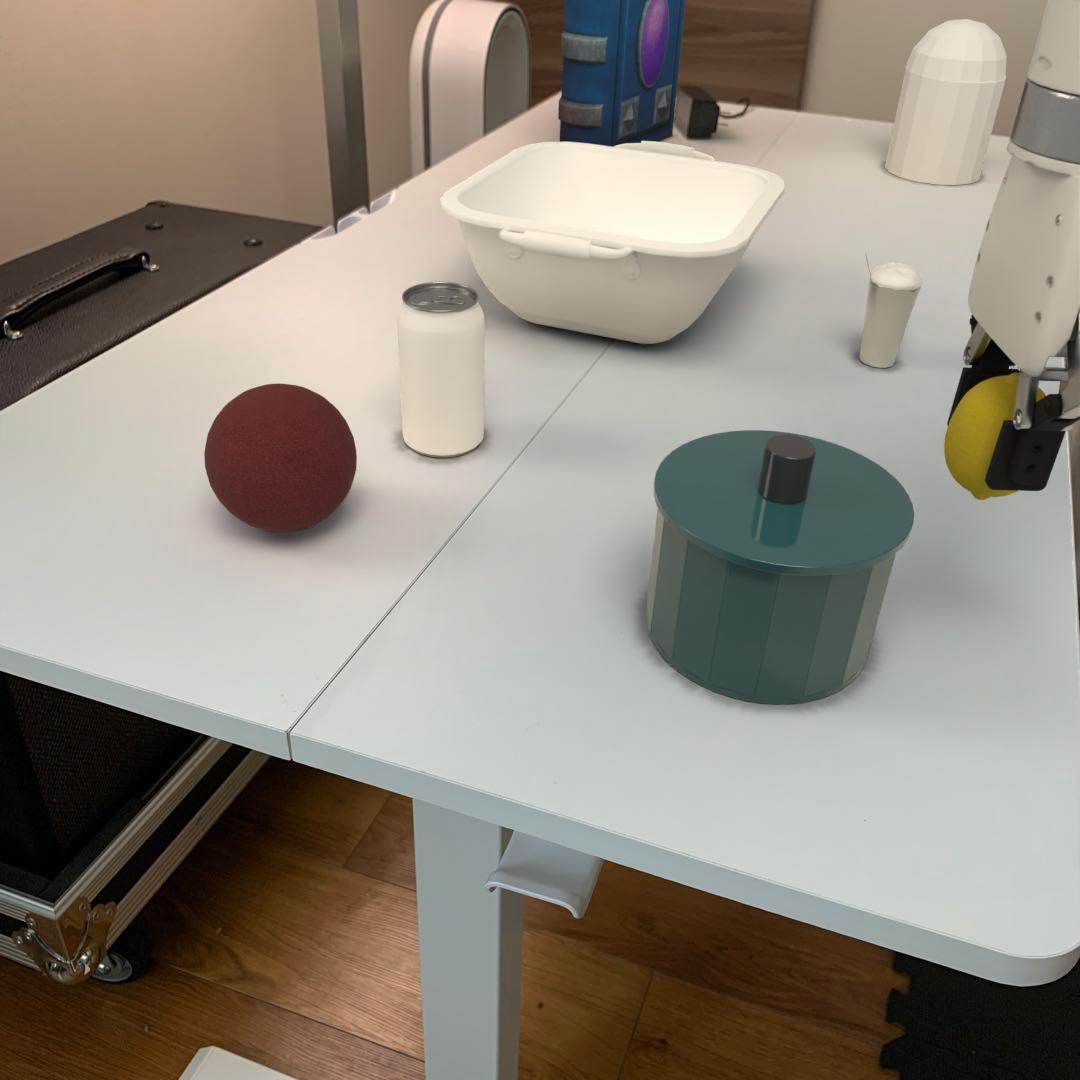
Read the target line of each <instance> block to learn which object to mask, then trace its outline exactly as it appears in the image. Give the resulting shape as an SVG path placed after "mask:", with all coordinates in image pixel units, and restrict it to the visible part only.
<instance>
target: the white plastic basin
mask: <svg viewBox="0 0 1080 1080" xmlns="http://www.w3.org/2000/svg"><path fill="white" fill-rule="evenodd" d="M785 192H786V181H785V180H784V179H783V178H782V177H780V176H779V175H778V174H776V173H773V172H771V171H768V170H766V169H762V168H760V167H755V166H751V165H746V164H740V163H734V162H726V161H719V160H716V158H714V157H713V156H712V155H710V154H707V153H705V152H701V151H698V150H696V148H695V147H692V146H687V145H683V144H677V143H672V142H664V141H659V142H656V141H641V143H626V144H620V145H616V146H614V147H610V146H603V145H596V144H589V143H578V142H559V141H543V142H536V143H530V144H529V143H528V144H526V145H521V146H519V147H517V148H515V149H513V150H511V151H510V152H508V153H506V154H505V155H503V156H502V157H499V158H498V159H497V160H495V161H494V162H491V163H490V164H489V165H487V166H485V167H483V168H482V169H481V170H479V171H477V172H475V173H474V174H472V175H470V176H469V177H467V178H465V179H464V180H462V181H461V182H459V183H458V184H456V185H455V186H453V187H451V188H449V189H448V190H446V191H445V192H444V193H443V194H442V195H441V197H440V198H439V200H438V205H439V206H440V207H439V208H440V210H441V211H442V213H444V214H445V215H447V216H449V217H451V218H453V219H454V220H456V221H458V223H459V227H460V230H461V231H460V232H461V234H462V239H463V241H464V245H465V247H466V249H467V252H468V255H469V258H470V260H471V262H472V266H473V267H474V270H475V272H476V274H477V275H478V276H479V278H480V279H481V281H482V282H483V284H484V285H485V287H486V288H487V290H488V291H489V292H490V293H491V294H492V295H493V296H494V298H495V299H496V300H497V301H498V302H499V303H500V304H502V305H503V306H505V307H506V308H507V309H509V311H511V312H512V313H513V314H514V315H516V316H517V317H518V318H520V319H521V320H525V321H527V322H530V323H532V324H536V325H540V326H545V327H552V328H555V329H562V330H567V331H572V332H578V333H583V334H588V335H593V336H598V337H603V338H609V339H614V340H620V341H623V342H624V341H625V342H630V343H635V344H640V345H656V344H660V343H664V342H667V341H670V340H671V339H674V337H676V336H677V335H678V334H680V333H681V332H684V331H685V330H687V329H688V328H690V327H691V325H693V324H694V323H695V321H697V320H698V319H699V318H700V316H701V315H702V314H703V313H704V312H705V310H706V309H707V307H708V306H709V304H710V303H711V302H712V300H713V299H714V298H715V296H716V294H717V293H718V292H719V291H720V289H721V287H722V286H723V285H724V283H725V282H726V280H727V279H728V277H730V275H731V274H732V272H733V271H734V269H735V268H736V266H737V265H738V263H739V262H740V261H741V259H742V257H743V256H744V254H745V253H746V252H747V250H748V248H749V247H750V245H751V242H752V240H753V238H754V236H755V235H756V233H757V231H758V230H759V229H760V228H761V226H762V225H763V223H764V222H765V220H767V218H768V216H769V215H770V214H771V213H772V211H773V209H774V208H775V207H776V206H777V204H778V203H779V202H780V200H781V198H782V197H783V196H784V194H785Z"/></svg>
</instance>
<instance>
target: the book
mask: <svg viewBox="0 0 1080 1080" xmlns="http://www.w3.org/2000/svg"><path fill="white" fill-rule="evenodd" d="M685 10H686V0H565V1H564V21H563V22H564V23H563V31H562V32H561V34H560V36H561V38H560V56H561V57H562V71H561V72H562V73H561V92H560V93H561V96H560V98H559V99H558V109H557V111H558V113H557V116H558V117H557V119H558V120H559V141H558V142H578V143H589V144H596V145H603V146H610V147H614V146H616V145H620V144H626V143H641V141H656V142H662V141H663V140H667V139H668V138H671V137H673V133H674V122H675V113H676V112H675V111H676V101H677V93H678V92H677V91H678V82H679V73H680V72H679V71H680V61H681V52H682V51H681V50H682V42H683V31H684V21H685Z"/></svg>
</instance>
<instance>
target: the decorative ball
mask: <svg viewBox="0 0 1080 1080" xmlns="http://www.w3.org/2000/svg"><path fill="white" fill-rule="evenodd" d="M203 454H204V457H203V458H204V469H205V472H206V476H207V480H208V482H209V486H210V488H211V490H212V492H213V493H214V495H215V497H216V498H217V500H218V501H219V503H220V504H221V505H222V506H223V507H224V508H225V510H227V511H228V512H229V513H230V514H231V515H232V516H234V518H236V519H238V520H239V521H241V522H243V523H244V524H246V525H248V526H251V527H253V528H257V529H260V530H262V531H266V532H272V533H292V532H298V531H302V530H305V529H309V528H310V527H313V526H315V525H317V524H319V523H321V522H323V521H324V520H326V519H328V518H329V517H330V516H331V515H332V514H333V513H334V512H336V510H338V508H339V507H341V505H342V504H343V502H344V501H345V500H346V498H347V496H348V495H349V493H350V491H351V489H352V486H353V482H354V480H355V477H356V472H357V461H358V459H357V458H358V456H357V447H356V442H355V437H354V435H353V432H352V431H351V428H350V426H349V424H348V422H347V420H346V419H345V417H344V415H342V413H341V412H340V410H339V409H338V408H337V406H335V405H334V404H333V403H331V402H330V401H329V400H328V399H327V398H326V397H324V396H322V395H321V394H320V393H317V392H315V391H314V390H311V389H309V388H307V387H304V386H301V385H297V384H291V383H268V384H263V385H258V386H256V387H252V388H249V389H247V390H244V391H243V392H241V393H239V394H238V395H237V396H235V397H233V399H231V400H230V401H228V402H227V403H226V404H225V405H224V406H223V407H222V409H221V410H220V411H219V412H218V414H217V415H216V417H215V418H214V419H213V422H212V424H211V426H210V427H209V430H208V433H207V436H206V441H205V447H204V453H203Z"/></svg>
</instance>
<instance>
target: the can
mask: <svg viewBox="0 0 1080 1080" xmlns="http://www.w3.org/2000/svg"><path fill="white" fill-rule="evenodd" d="M401 299H402V303H401V306H400V307H399V310H398V313H397V319H396V321H397V322H396V323H397V348H398V369H399V371H398V372H399V391H400V393H399V394H400V412H401V428H402V429H401V431H402V439H403V441H404V443H405V444H406V445H407V446H408V447H409V448H410V449H411V450H413V451H414V452H415V453H417V454H420V455H423V456H426V457H431V458H439V459H440V458H455V457H460V456H463V455H466V454H468V453H470V452H472V451H474V450H475V449H476V448H478V446H479V445H480V444H481V443H482V441H483V439H484V435H485V314H484V312H483V311H484V310H483V309H482V306H481V305H480V303H479V299H480V296H479V294H478V292H477V290H475V289H474V288H472V287H470V286H468V285H465V284H462V283H457V282H450V281H430V282H429V281H428V282H424V283H419V284H415V285H413V286H410V287H409V288H407V289H405V290H404V291H403V293H402V295H401Z"/></svg>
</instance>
